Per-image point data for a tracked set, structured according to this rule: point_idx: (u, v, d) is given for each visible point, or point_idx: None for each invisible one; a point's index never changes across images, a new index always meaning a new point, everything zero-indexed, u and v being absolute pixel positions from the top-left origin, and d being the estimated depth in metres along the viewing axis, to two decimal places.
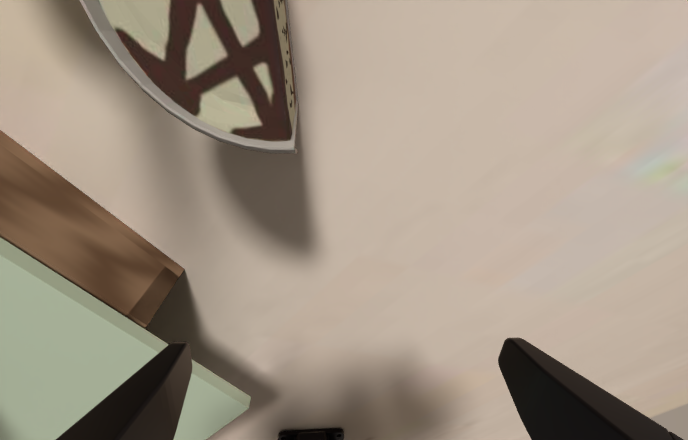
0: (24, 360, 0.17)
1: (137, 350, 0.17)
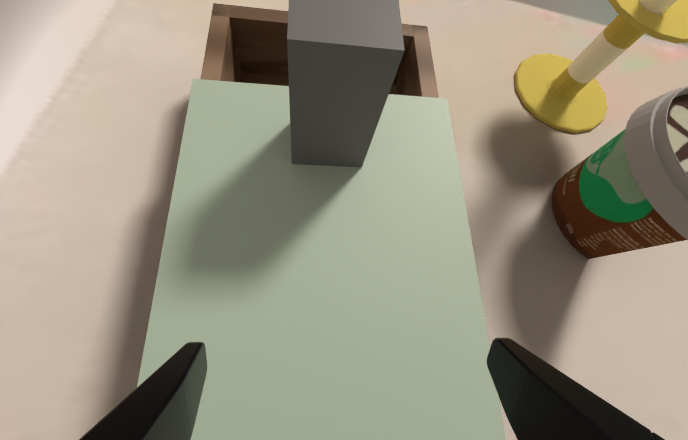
0: (382, 222, 0.17)
1: (468, 288, 0.17)
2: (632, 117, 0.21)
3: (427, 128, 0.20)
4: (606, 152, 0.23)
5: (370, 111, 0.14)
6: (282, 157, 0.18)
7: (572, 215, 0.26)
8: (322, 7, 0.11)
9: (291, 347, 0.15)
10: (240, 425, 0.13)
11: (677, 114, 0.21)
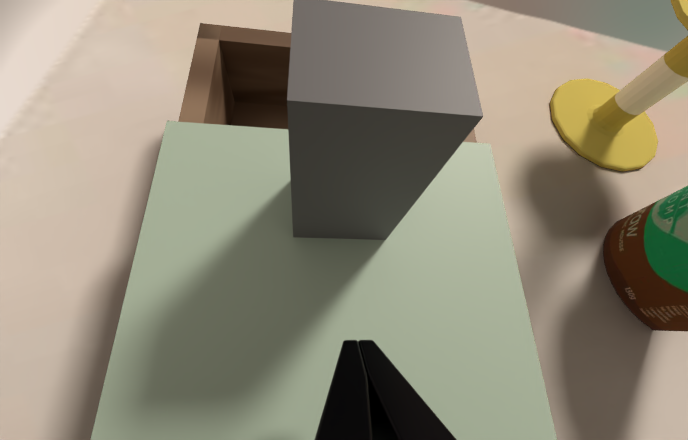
0: (414, 320, 0.13)
1: (536, 418, 0.12)
2: None
3: (467, 184, 0.16)
4: (684, 207, 0.19)
5: (409, 188, 0.10)
6: (280, 228, 0.14)
7: (635, 279, 0.21)
8: (346, 43, 0.07)
9: None
10: None
11: None
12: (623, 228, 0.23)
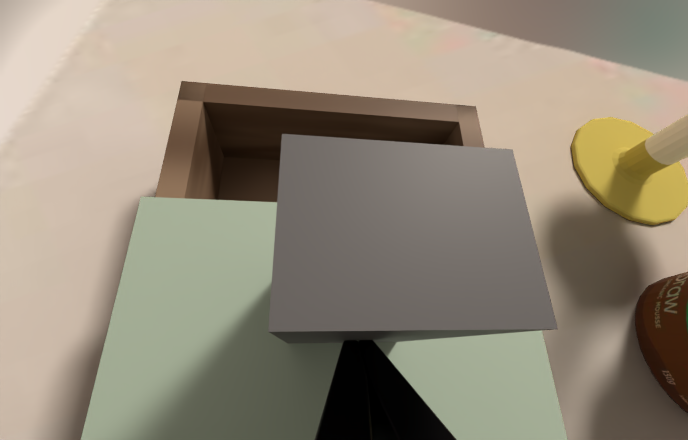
0: None
1: None
2: None
3: None
4: None
5: (434, 337, 0.07)
6: None
7: (675, 363, 0.19)
8: (356, 212, 0.05)
9: None
10: None
11: None
12: (659, 299, 0.20)
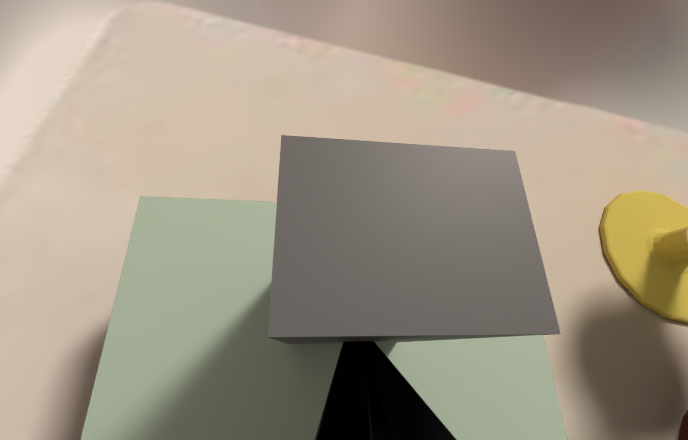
0: None
1: None
2: None
3: None
4: None
5: (435, 339, 0.07)
6: None
7: None
8: (356, 215, 0.05)
9: None
10: None
11: None
12: None
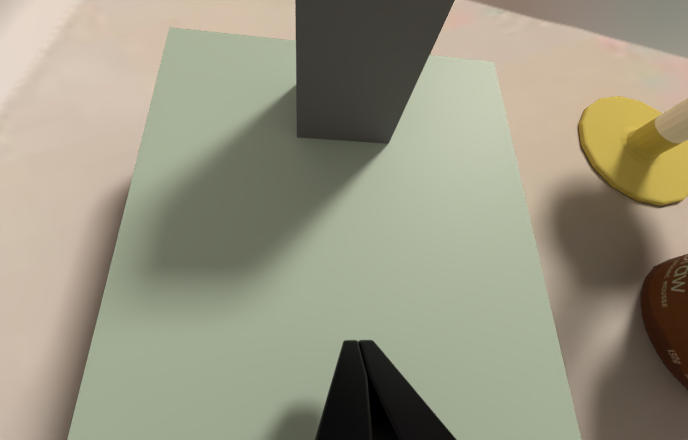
0: (417, 215, 0.13)
1: (535, 306, 0.12)
2: None
3: (471, 97, 0.16)
4: None
5: (414, 51, 0.10)
6: (284, 128, 0.14)
7: (681, 342, 0.18)
8: None
9: (294, 391, 0.10)
10: None
11: None
12: (666, 279, 0.20)
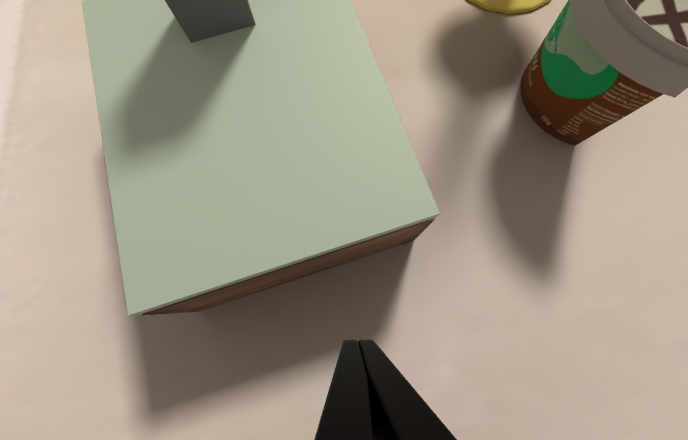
0: (285, 64, 0.19)
1: (377, 93, 0.18)
2: None
3: None
4: (560, 23, 0.20)
5: None
6: (181, 40, 0.19)
7: (544, 105, 0.23)
8: None
9: (232, 184, 0.17)
10: (207, 249, 0.16)
11: None
12: (530, 64, 0.25)
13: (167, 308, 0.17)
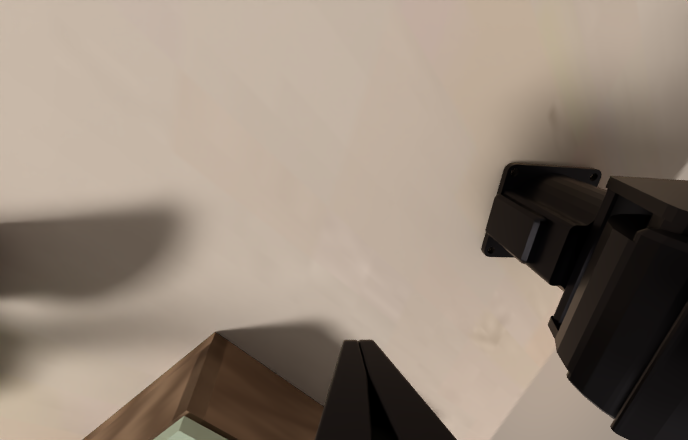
0: None
1: None
2: None
3: None
4: None
5: None
6: None
7: None
8: None
9: None
10: None
11: None
12: None
13: None
